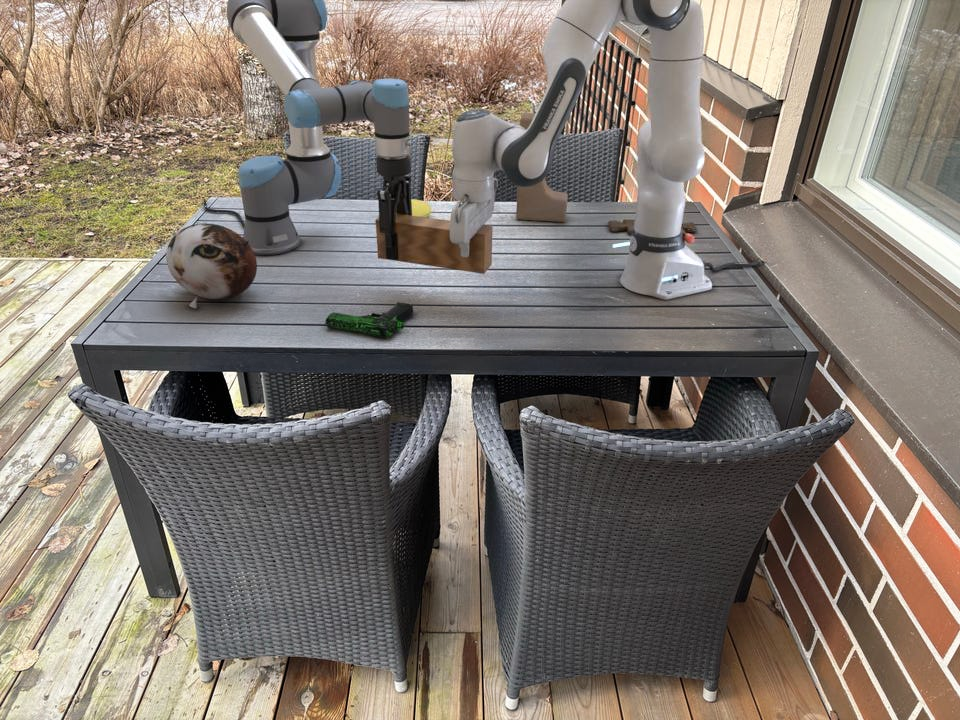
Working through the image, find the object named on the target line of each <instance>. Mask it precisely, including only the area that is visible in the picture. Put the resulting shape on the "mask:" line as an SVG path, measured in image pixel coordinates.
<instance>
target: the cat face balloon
mask: <svg viewBox="0 0 960 720" xmlns="http://www.w3.org/2000/svg"><path fill="white" fill-rule="evenodd" d="M248 242H249V241H246V240H245V239H244V238H243V236H242V235H240V234H239V233H238V232H236V231H234V230H233V229H231V228H229V227H226V226H223V225H220V224H215V223H205V222H204V223H195V224H191V225H188V226H186V227H183V228H182V229H180V230H179V231H177V232H176V233H175V234H174V235H173V237H171V239H170V241H169V243H168V245H167V248H166V254H165V260H166V265H167V268H168V271H169V273H170V275H171V276H172V277H173V279H174V280H175V281H176V282H177V284H178V285H180V286H181V287H182V288H183V289H185V290H186V291H187V292H189V293H191V294H194V295H195V298H194V299H193V300H192V302H190V303H189V304H188V306H189V307H191V308H192V309H197V308H198V307H197V298H198V297H201V298H205V299H210V300H226V299H230V298H233V297H236V296H238V295H241V294H242V293H244V292H245V291H247V290H248V289H249V288H250V286H251V285H252V284H253V282H254V280H255V278H256V275H257V271H258V262H257V257H256V254H254V252H253V250H252V248H251V247H250V245H249V244H248Z"/></svg>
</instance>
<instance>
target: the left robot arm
mask: <svg viewBox="0 0 960 720" xmlns="http://www.w3.org/2000/svg"><path fill="white" fill-rule="evenodd" d="M226 19H227V23H228V26H229V28H230V30H231V32H232V33H233V35H234V37H235V38H236V39H237V41H239V43H241V44H243V45H245V46H247V47H248V48H249V49H250V51H251V52H252V53H253V55H254V56H255V57H256V59H257V61H259V63H260V65H261V66H262V67H263V69H264V70H265V71H266V72H267V74H268V76H270V79H272V81H273V82H274V83H275V85H276V86H277V87H278V89H279V90H280V92H281V93H282V95H284V98H283V107H284V108H283V109H284V113H285V116H286V118H287V122H288V131H289V139H290V145H289V146H288V147H287V149H286V150H285V154H286V159H285V160H283V158H282V157H281V156H279V155H275V154H274V155H273V154H269V155H260V156H259V155H258V156H256V157H252V158H250V159H247V160H245V161H244V162H243V163H241V165H239V167H238V170H237V174H238V186H239V190H240V196H241V201H242V208H243V212H244V213H243V215H244V219H245V220H244V219H243V218H242V216H241V215H240V213H239V212H237V211H235V210H230V209H215V208H209V207H208V206H207V205H208V204H207V203H208V201H207V200H205V199H204V201H203V207H204V209H205V210H206V211H207V212H211V213H224V214H225V213H227V214H228V213H229V214H233V215H236V216H237V218H238V220H239V221H240V223H241V225H242V227H243V228H244V229H243V235H242V237H243V238H244V239H245V240H246V241H249V242H248V244H249V245H250V247H251V248H252V250H253V252H254V254H255V256H256V255H257V256H275V255H281V254H282V255H283V254H285V253H289V252H291V251H293V250H296V249H297V248H298V247H299V246H300V244H301V241H300V235H299V233H298V231H297V229H296V227H295V225H294V223H293V220H292V218H291V216H290V207H289V206H291V205H296V204H301V203H306V202H311V201H317V200H323V199H326V198H329V197H332V196H334V195H336V193H337V192H338V191H339V189H340V185H341V180H342V171H341V166H340V164H339V159H338V157H337V156H336V155H335V154H334V153H331V148H330V147H329V146H328V145H326V144H325V142H324V131H323V126H331V125H337V124H344V123H352V122H358V121H370V122H372V123H373V126H374V145H375V146H374V147H375V148H374V149H375V154H376V155H377V156H376V157H375V160H376V161H375V162H376V172H377V174H378V175H379V176H381V177H383V179H382V189H378V190H377V191H376V195H377V201H378V218H379V228H380V233H385V245H386V259H385V260H387V259H391V260H390V261H394V260H398V243H397V233H396V232H395V225H396V213H397V214H403V215H411V216H412V202H411V199H412V176H411V175H409V174H410V173H411V172H412V162H411V161H412V159H411V156H410V154H411V146H412V142H411V139H410V138H411V137H410V130H411V129H410V98H409V91H408V90H409V87H408V84H407V83H406V81H405V80H402V79H400V78H399V79H398V78H380V79H375V80H374V81H373V82H372V83H371V82H368V81H367V80H353V81H350V82H349V83H348V84H345V85H336V86H327V87H325V86H324V87H323V86H322V85H321V84H320V83H319V82H318V71H317V70H318V69H317V60H316V59H317V58H316V49H315V47H316V45H318V43H319V42H320V40H321V38H320V32H322V31H324V30H325V29H326V27H327V22H328V12H327V6H326V2H325V0H227V3H226ZM206 202H207V203H206ZM205 206H206V207H205Z"/></svg>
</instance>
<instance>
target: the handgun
mask: <svg viewBox="0 0 960 720" xmlns="http://www.w3.org/2000/svg"><path fill="white" fill-rule="evenodd" d="M413 305H414V304H413ZM413 305H412V304H410V303H406V302H399V301H397V302H396V304H395V305H394V306H393V307H391V308H390V309H389V310H388V311H386V312H382V313H381V314H380V313H376V312H375V313H374V312H372V313H371V314H366V315H361V316H357V315H352V314H344V313H341V312H331V313H330V314H328V315H327V316H326V318H325V322H324V323H325V326H326V327H327V328H332V329H337V330H346V331H350V332H357V333H362V334H366V335H369V336H374V337H375V338H381V339H388V338H390V337H391V336H393V335H394V334H396V332H397V331H401V330H403V329H404V328H405V324H404V323H403V322H404V321H406V320H409V319H410V318H411V317H412V316H413V315H414V306H413Z"/></svg>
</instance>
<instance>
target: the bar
mask: <svg viewBox="0 0 960 720" xmlns="http://www.w3.org/2000/svg"><path fill="white" fill-rule="evenodd" d="M493 229H494V227H493V225H487V224H485V225H483V226H482V227H481V228H480V229H479V230H478V231H477V232H476V234H475V235H474V236H473V237H472V238H471V239H470V242H469V248H470V255H469V256H468V257H462V256H461V249H460V246H459V244H456V243H452V242H451V240H450V219H448V220H447V219H440V218H433V217H418V216H411V215H403V214H396V225H395V232H396V233H397V243H398V260H393V261H396V262H402V263H408V264H415V265H420V266H421V265H422V266H428V267H435V268H440V269H448V270H455V271H461V272H468V273H474V274H475V273H476V274H481V275H485V274H486V272H487V271H488V270H489V269H490V267H492V263H493V231H494V230H493ZM375 231H376V233H375V234H376V251H377V258H378V259H381V260H388V261H392V260H391V259H386V245H385V233H380V228H379V217H377V218H376V219H375Z"/></svg>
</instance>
